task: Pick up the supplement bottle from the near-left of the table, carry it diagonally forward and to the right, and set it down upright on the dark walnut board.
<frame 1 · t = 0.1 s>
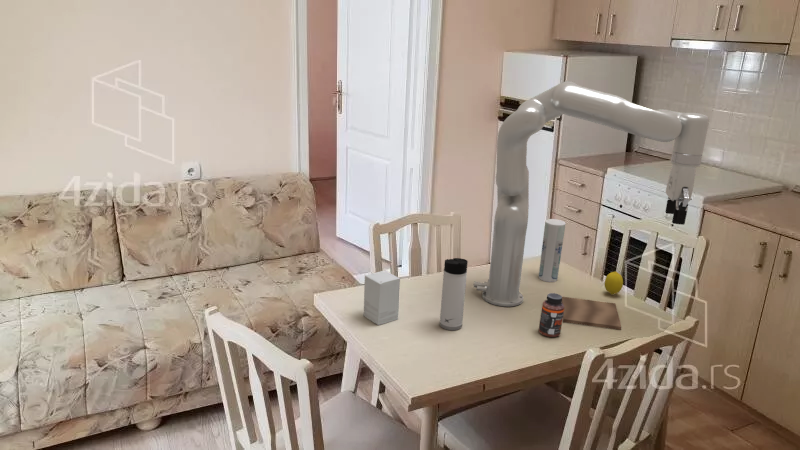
hand: (674, 218, 180), 31 cm above the table, tool pointing down, fingers open, 9 cm apart
walnut board: (589, 314, 190), on the table
travel mug: (451, 326, 179), on the table
supplement box: (380, 318, 181), on the table
lemon: (611, 295, 205), on the table
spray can: (547, 278, 215), on the table
supplement bottle: (549, 333, 178), on the table
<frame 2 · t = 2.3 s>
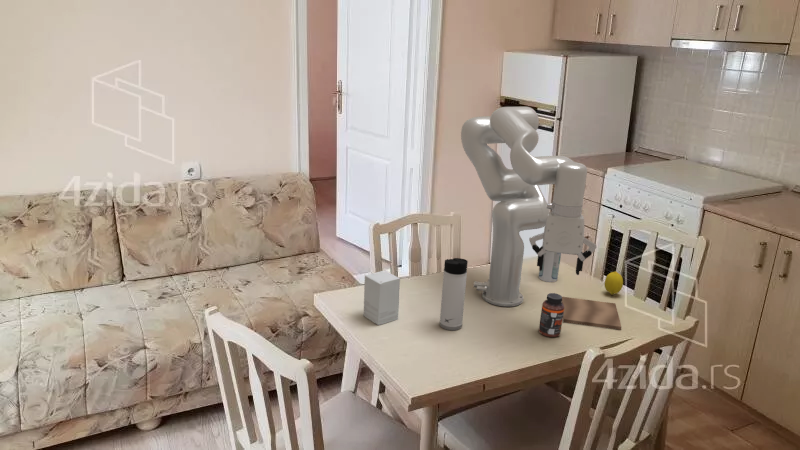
hand: (558, 270, 171), 19 cm above the table, tool pointing down, fingers open, 9 cm apart
nothing on the table moved.
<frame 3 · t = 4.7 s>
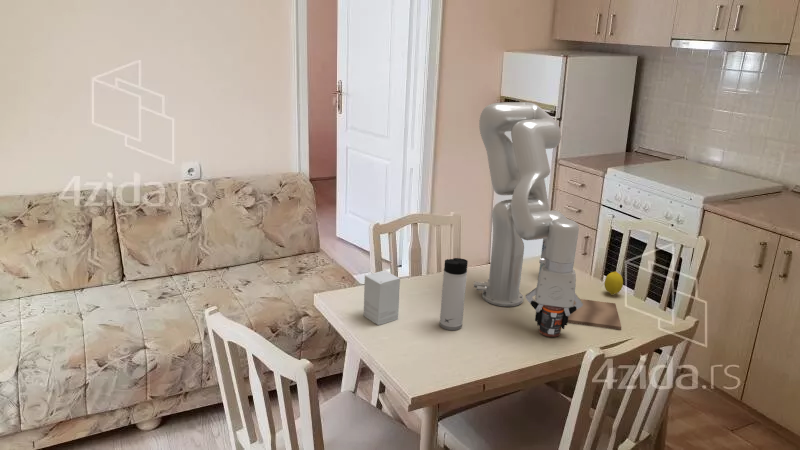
hand: (550, 324, 177), 3 cm above the table, tool pointing down, fingers closed on supplement bottle, 6 cm apart
supplement bottle: (549, 333, 178), on the table, touching gripper
everything else where it was.
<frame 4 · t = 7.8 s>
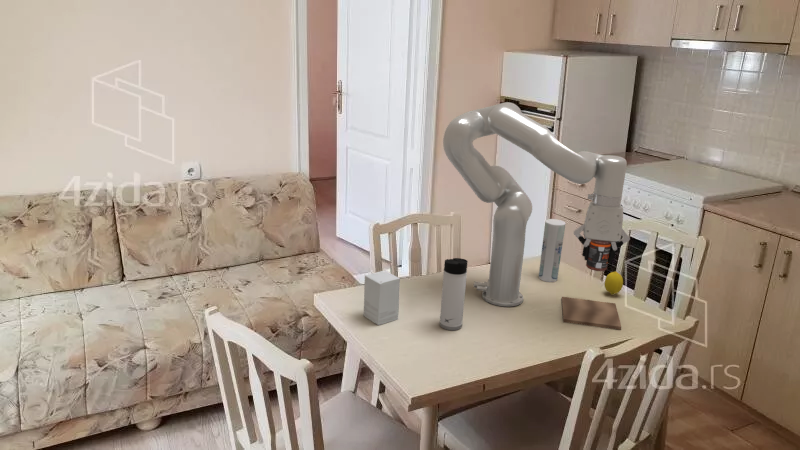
hand: (597, 259, 184), 18 cm above the table, tool pointing down, fingers closed on supplement bottle, 6 cm apart
supplement bottle: (596, 268, 185), point 15 cm above the table, touching gripper
everything else where it was.
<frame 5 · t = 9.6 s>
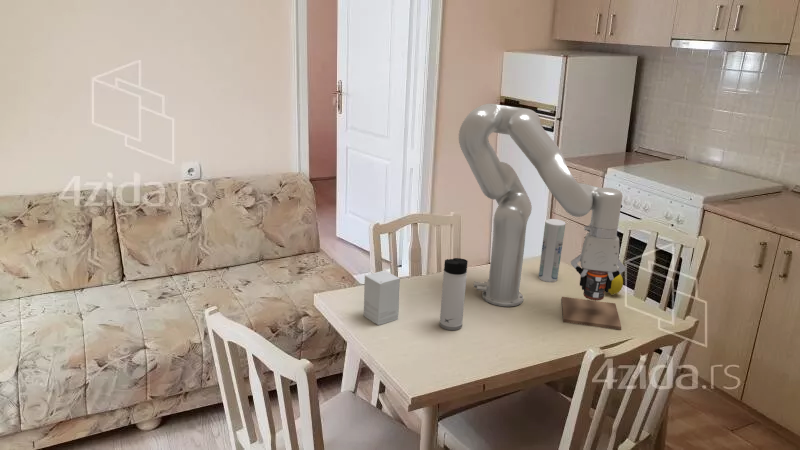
hand: (594, 288, 188), 8 cm above the table, tool pointing down, fingers closed on supplement bottle, 6 cm apart
supplement bottle: (593, 297, 188), point 5 cm above the table, touching gripper
everything else where it was.
when the fingers open (5 cm above the table, at t = 11.0 s): supplement bottle drops 2 cm, resting on walnut board.
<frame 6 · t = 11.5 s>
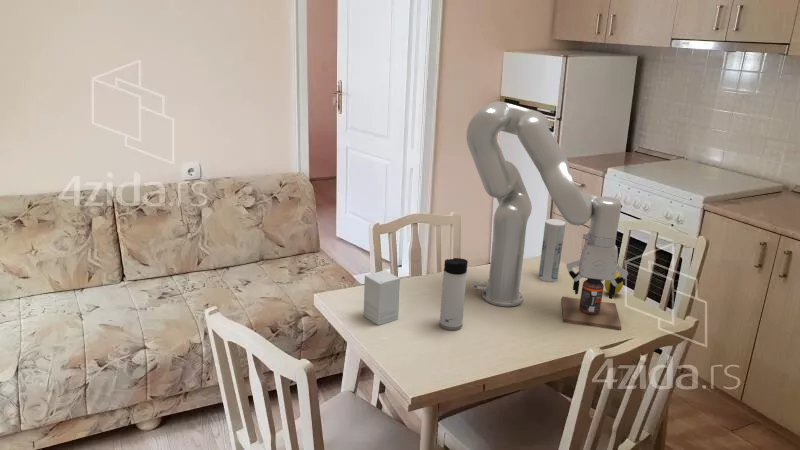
hand: (592, 294, 188), 6 cm above the table, tool pointing down, fingers open, 9 cm apart
supplement bottle: (589, 311, 190), point 1 cm above the table, touching walnut board
everything else where it was.
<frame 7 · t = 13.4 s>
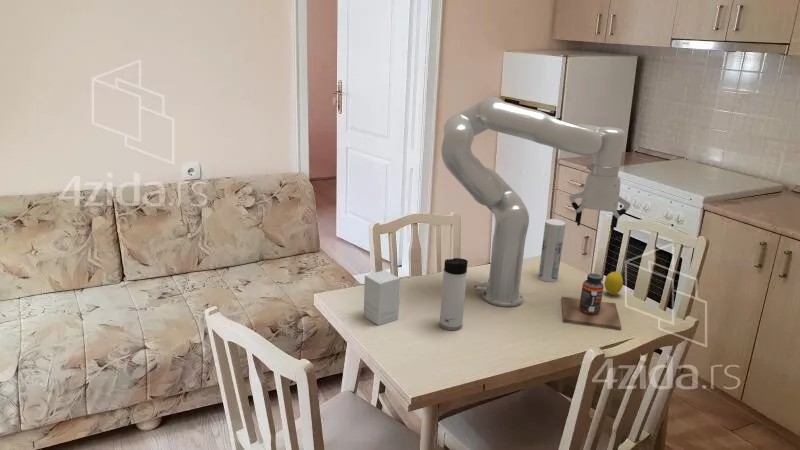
hand: (595, 226, 189), 25 cm above the table, tool pointing down, fingers open, 9 cm apart
nothing on the table moved.
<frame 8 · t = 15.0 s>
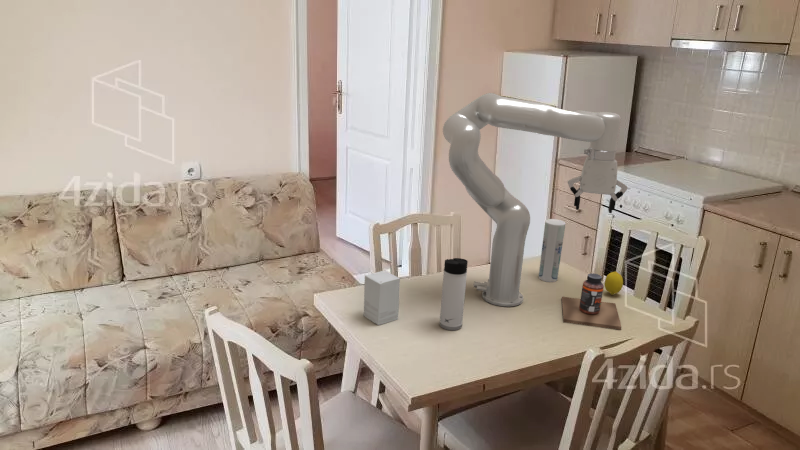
hand: (593, 210, 194), 28 cm above the table, tool pointing down, fingers open, 9 cm apart
nothing on the table moved.
at the end: supplement bottle inside the target area on the walnut board (0.3 cm from its centre), point 0.8 cm above the walnut board's base; supplement bottle tilted 0°; the gripper is holding nothing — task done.
